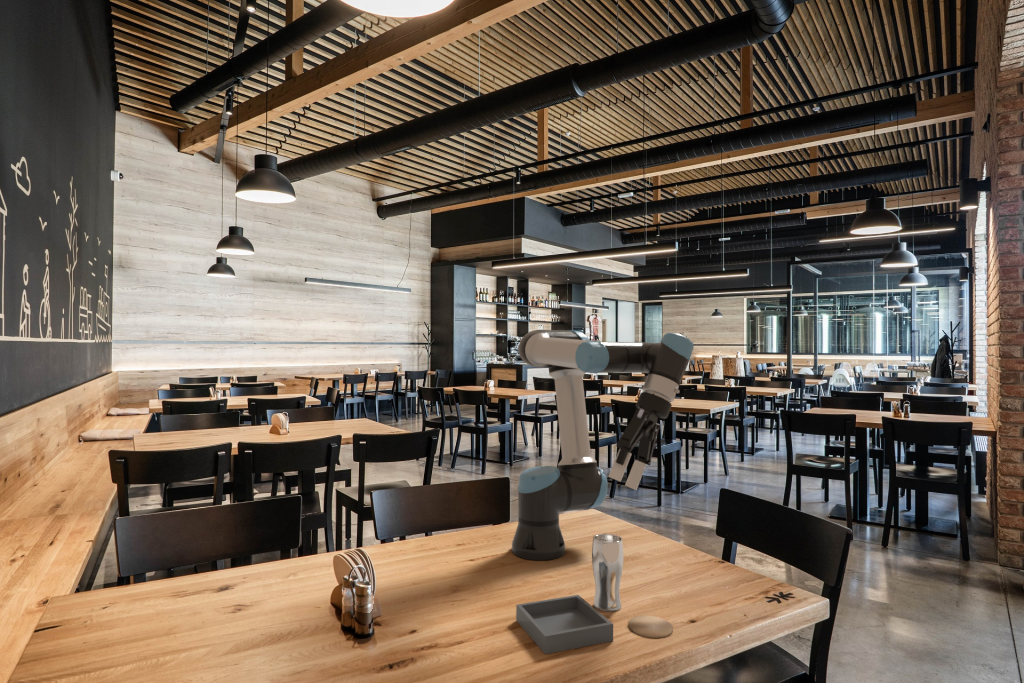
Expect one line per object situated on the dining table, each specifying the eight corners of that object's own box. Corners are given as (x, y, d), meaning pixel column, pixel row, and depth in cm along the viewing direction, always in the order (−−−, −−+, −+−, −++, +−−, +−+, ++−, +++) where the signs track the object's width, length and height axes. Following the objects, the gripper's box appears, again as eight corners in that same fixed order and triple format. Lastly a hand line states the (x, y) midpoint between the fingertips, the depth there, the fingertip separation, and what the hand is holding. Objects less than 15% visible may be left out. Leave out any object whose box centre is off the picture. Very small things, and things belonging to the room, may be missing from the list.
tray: (516, 620, 120) (516, 604, 120) (578, 609, 126) (578, 594, 126) (545, 654, 107) (545, 636, 107) (613, 640, 112) (613, 623, 112)
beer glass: (623, 614, 124) (623, 544, 124) (590, 610, 125) (591, 541, 126) (623, 600, 131) (623, 534, 131) (592, 597, 132) (593, 532, 132)
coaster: (619, 621, 120) (619, 619, 120) (655, 614, 124) (655, 612, 124) (644, 641, 112) (644, 639, 112) (682, 633, 115) (682, 631, 115)
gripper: (660, 387, 120) (623, 482, 117) (682, 415, 141) (651, 497, 137) (628, 376, 124) (590, 468, 121) (653, 406, 145) (622, 485, 141)
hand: (622, 483), depth 129 cm, fingers open, 13 cm apart
